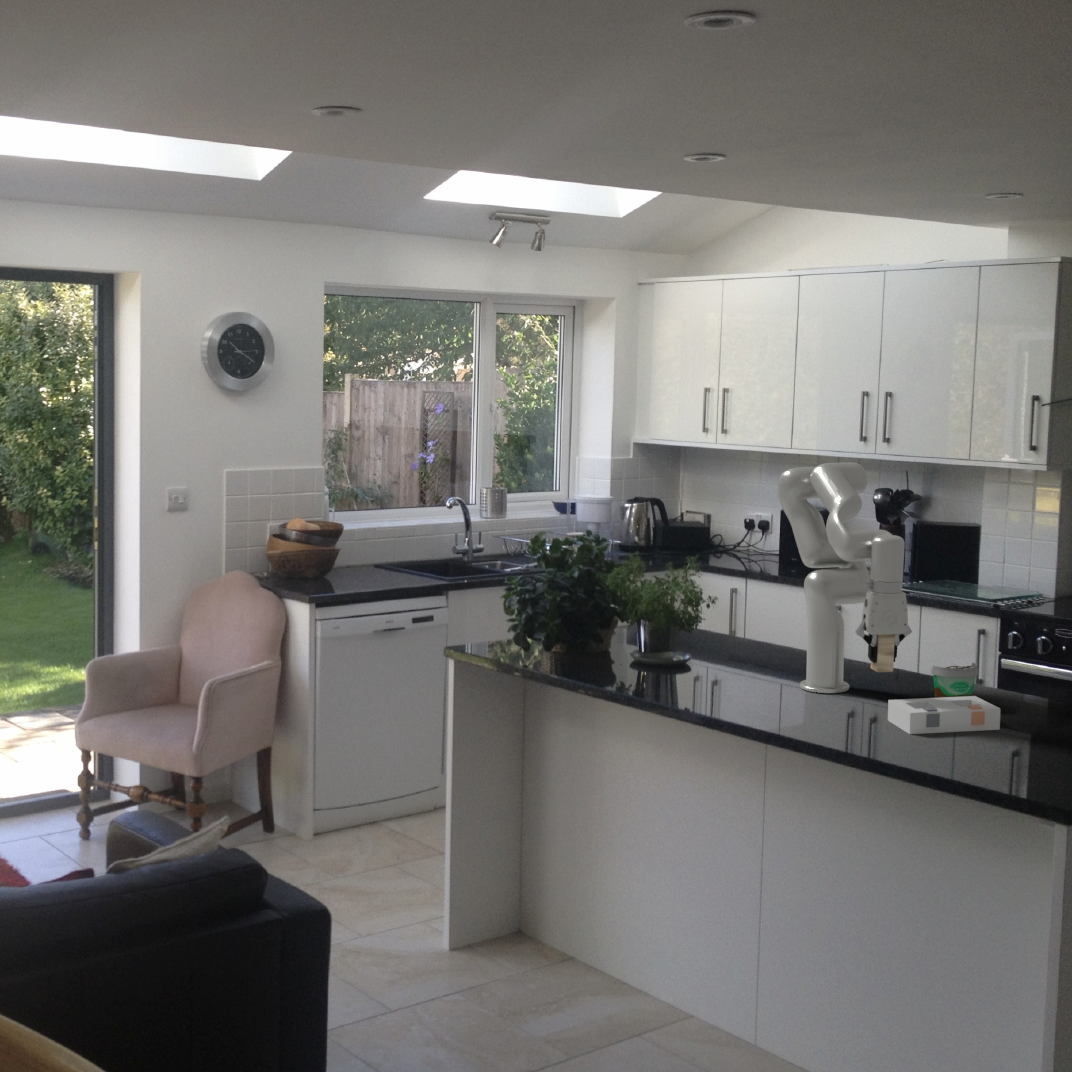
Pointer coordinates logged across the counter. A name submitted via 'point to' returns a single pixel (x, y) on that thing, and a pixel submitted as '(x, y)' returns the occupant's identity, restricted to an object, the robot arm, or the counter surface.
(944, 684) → the food container
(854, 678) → the counter surface
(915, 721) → the socket block
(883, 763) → the counter surface
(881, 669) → the plug
